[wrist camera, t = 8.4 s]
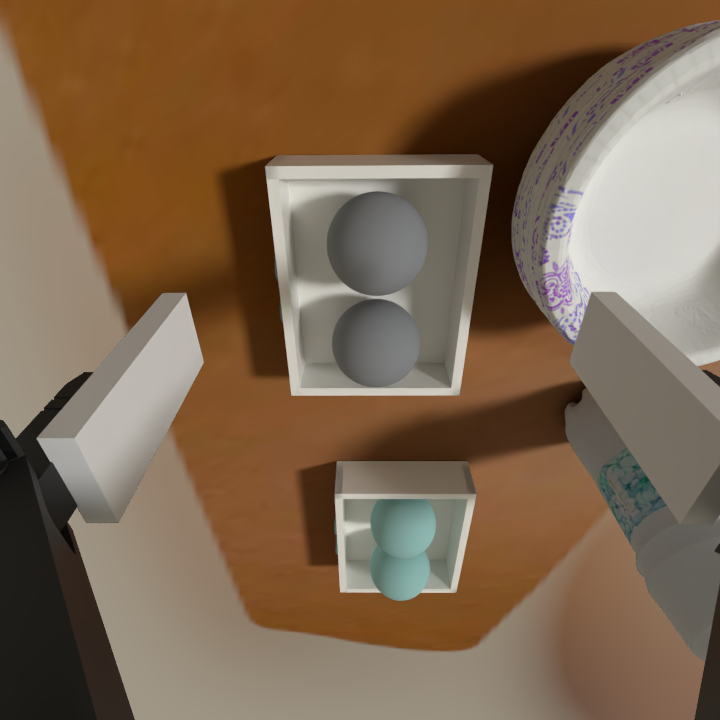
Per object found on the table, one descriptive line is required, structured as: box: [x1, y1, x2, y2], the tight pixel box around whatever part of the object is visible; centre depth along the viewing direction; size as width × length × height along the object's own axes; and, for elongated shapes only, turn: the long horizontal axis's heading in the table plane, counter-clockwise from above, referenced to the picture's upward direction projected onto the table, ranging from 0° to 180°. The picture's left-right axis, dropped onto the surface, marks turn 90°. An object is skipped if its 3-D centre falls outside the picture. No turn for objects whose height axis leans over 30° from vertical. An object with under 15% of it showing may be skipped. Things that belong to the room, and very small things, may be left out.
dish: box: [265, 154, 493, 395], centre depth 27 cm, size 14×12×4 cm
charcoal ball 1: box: [327, 191, 428, 296], centre depth 24 cm, size 6×6×6 cm
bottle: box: [565, 388, 720, 661], centre depth 26 cm, size 7×7×20 cm
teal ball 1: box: [370, 499, 436, 558], centre depth 37 cm, size 6×6×6 cm
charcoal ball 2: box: [332, 299, 420, 387], centre depth 27 cm, size 6×6×6 cm
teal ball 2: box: [370, 545, 430, 601], centre depth 40 cm, size 6×6×6 cm
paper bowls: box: [512, 20, 720, 366], centre depth 22 cm, size 15×15×8 cm
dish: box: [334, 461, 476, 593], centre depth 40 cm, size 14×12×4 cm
